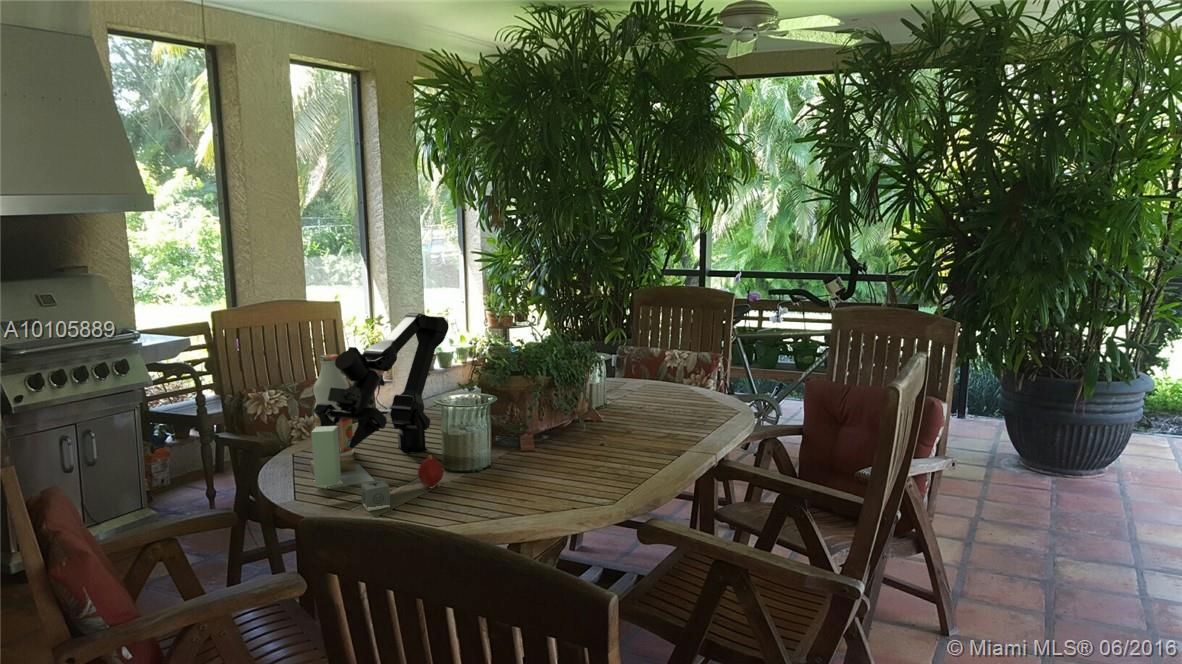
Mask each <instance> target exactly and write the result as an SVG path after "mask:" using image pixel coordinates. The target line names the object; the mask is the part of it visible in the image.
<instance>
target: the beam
mask: <svg viewBox="0 0 1182 664" xmlns="http://www.w3.org/2000/svg"><path fill="white" fill-rule="evenodd" d="M309 464H310V472H311V473H312V474H313V476H314V465H313V460H310V463H309ZM355 465H356V459H355V457H354V456H353V454H352V455H347V456H341V457H340V470H341V473H342V472H348V471H354V470H355Z"/></svg>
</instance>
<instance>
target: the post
mask: <svg viewBox="0 0 1182 664" xmlns="http://www.w3.org/2000/svg"><path fill="white" fill-rule="evenodd" d="M310 434H311V450H312V461H313V465H314V479H315V485H337V483H338V482H339V480H340V479H341V470H340V455H339V440H338V426H321V427H314V428H313V429H312V430H311V432H310Z"/></svg>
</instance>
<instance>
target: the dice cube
mask: <svg viewBox="0 0 1182 664" xmlns="http://www.w3.org/2000/svg"><path fill="white" fill-rule="evenodd" d="M360 493H361V503H362V502H363V503H364V504H365V505H366V507H367V508H368V507H376V506H383V505H389V504H390V505H391V498H390V497H391V496H390V485H389V483H387V482H386V481H385V480H384V479H380V480H375V481H371V482H365V483H360Z"/></svg>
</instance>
